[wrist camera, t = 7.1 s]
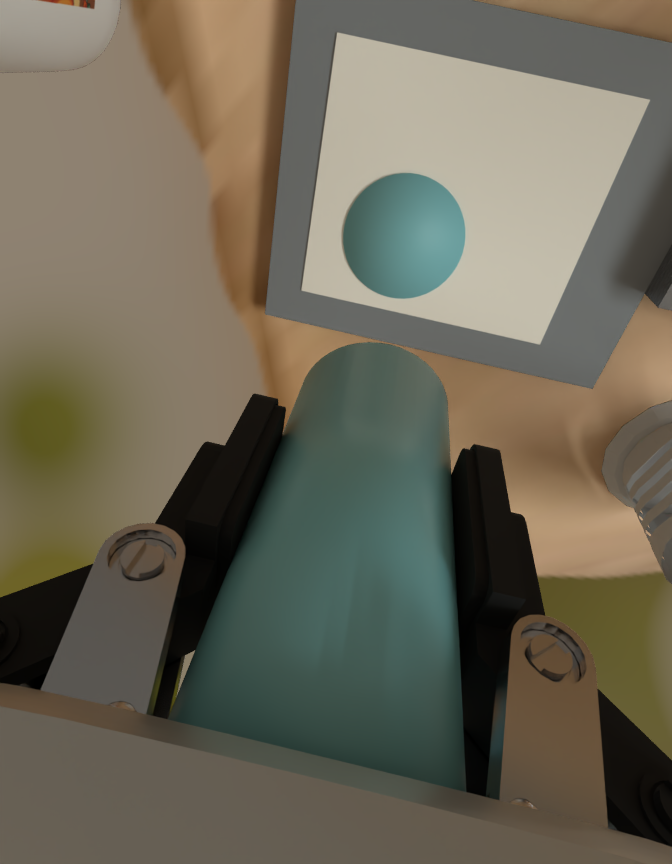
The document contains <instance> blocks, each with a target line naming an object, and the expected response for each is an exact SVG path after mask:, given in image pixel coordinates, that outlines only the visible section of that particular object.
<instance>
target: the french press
mask: <svg viewBox="0 0 672 864" xmlns="http://www.w3.org/2000/svg"><path fill="white" fill-rule="evenodd" d="M601 472H602V474H603V477H604V480H605V482H606V485H607V488H608V490H609V492H611V493H612V494H613V495H614V496H615V497H617V498H618V499H619V500H620V501H621V502H623V503H624V504H625V505H626V506H629V507H632V508H634V510H635V512H636V513H637V516H638V519H639V516H641V517H642V518H643V521H641V520H640V519H639V521H640V523H641V525H642V526H643V529H644V532H645V534H646V530H647V531H648V532H649V533H650V534H651V536H649V535H647V534H646V536H647V538H648V540H649V542H650V544H651V547H652V550H653V552H654V554H655V556H656V558H657V561H658V563H659V565H660V567H661V569H662V571H663V573H664V576H665V578H666V580H668V581H669V582H670V583H671V584H672V401H669V402H666V403H663V404H659V405H656V406H653V407H650V408H649V409H647V410H646V411H644V412H643V413H641V414H640V415H639V416H637V417H636V418H634V419H633V420H631V421H630V422H628V423H627V424H625V425H624V426H622V428H621V429H620V430H619V432H618V433H617V434H616V436H615V437H614V438H613V440H612V441H611V442H610V444H609V445H608V446H607V448H606V451H605V456H604V461H603V466H602V471H601ZM641 510H642V512H643V514H642V513H641V512H640V511H641ZM648 525H649V527H650V528H649V527H648ZM662 557H664V559H665V560H664V559H663V558H662Z"/></svg>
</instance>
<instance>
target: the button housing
mask: <svg viewBox="0 0 672 864" xmlns="http://www.w3.org/2000/svg"><path fill="white" fill-rule="evenodd" d="M645 294H646V295H647V296H648V297H649V298H650V299H651V300H652V301H653V303H654V304H655V305H656V306H657V307H658V308H662V309H667V310H671V311H672V245H671V246H670V248H669V250H668V252H667V254H666V255H665V257H664V259H663V261H662V263H661V265H660V266H659V268H658V270H657V272H656V274H655V276H654V277H653V279H652V281H651V283H650V285H649V286H648V288H647V290H646V292H645Z"/></svg>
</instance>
